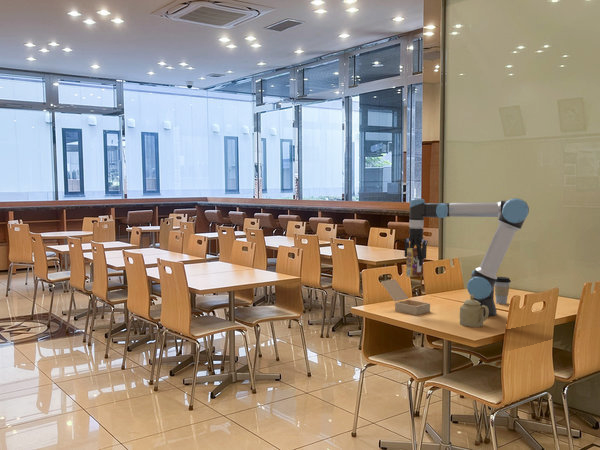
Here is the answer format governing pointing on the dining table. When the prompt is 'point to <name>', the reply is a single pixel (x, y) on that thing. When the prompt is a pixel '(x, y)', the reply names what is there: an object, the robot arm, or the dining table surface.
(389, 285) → the lid
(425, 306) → the box
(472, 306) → the grey round pot
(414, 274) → the candy box
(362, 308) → the dining table surface
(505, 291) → the coffee cup
